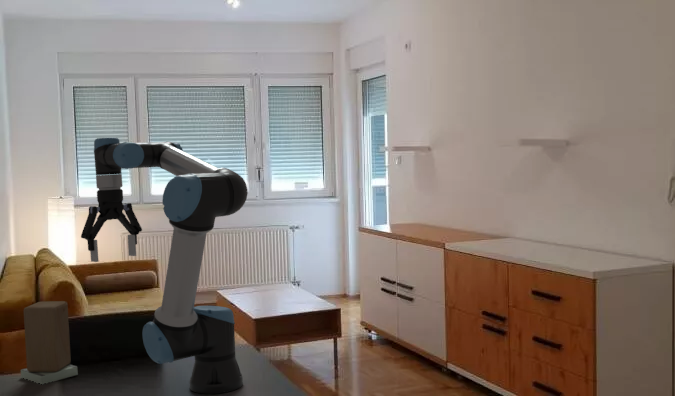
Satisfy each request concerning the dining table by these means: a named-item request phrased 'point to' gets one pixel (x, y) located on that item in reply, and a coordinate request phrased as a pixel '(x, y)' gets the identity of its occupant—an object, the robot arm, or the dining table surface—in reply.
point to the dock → (50, 374)
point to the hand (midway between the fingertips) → (114, 258)
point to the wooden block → (47, 336)
